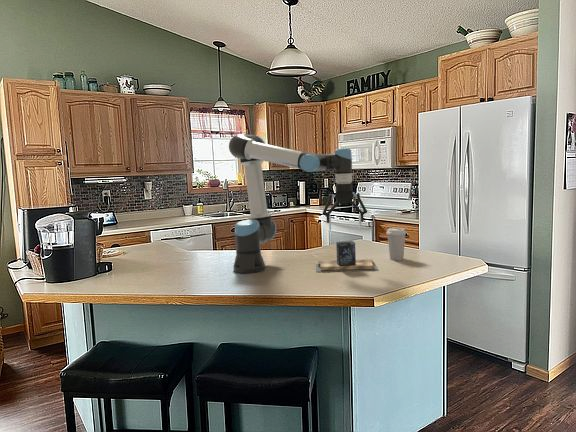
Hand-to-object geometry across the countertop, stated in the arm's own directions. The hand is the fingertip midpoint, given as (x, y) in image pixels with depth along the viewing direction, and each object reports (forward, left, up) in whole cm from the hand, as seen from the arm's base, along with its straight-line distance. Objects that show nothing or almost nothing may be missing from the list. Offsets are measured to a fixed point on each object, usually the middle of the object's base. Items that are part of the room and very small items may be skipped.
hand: (345, 229), depth 201 cm
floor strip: (0, +7, -18) cm, 20 cm away
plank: (0, 0, -18) cm, 18 cm away
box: (0, 0, -17) cm, 17 cm away
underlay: (0, +3, -18) cm, 19 cm away
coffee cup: (+26, +17, -19) cm, 36 cm away
